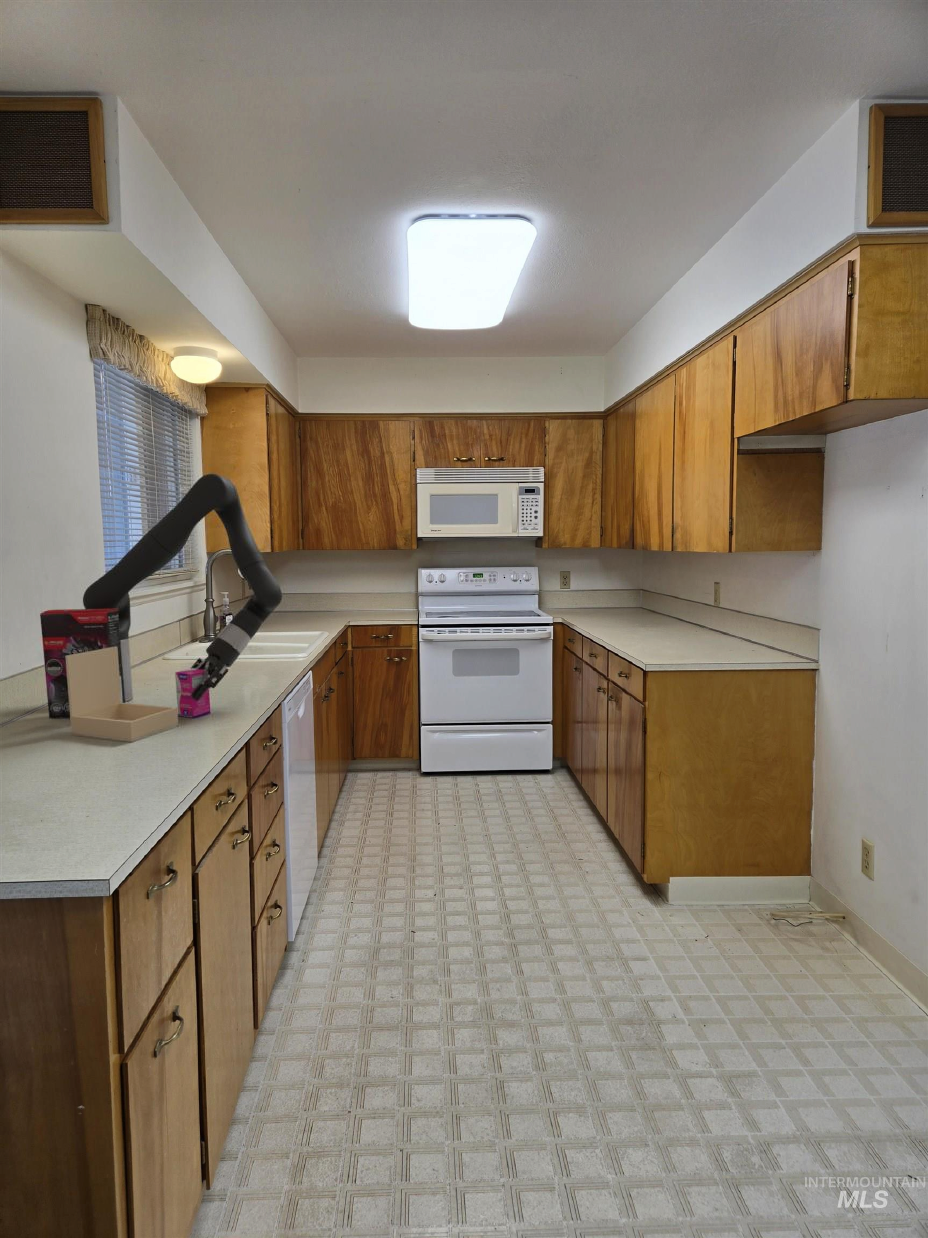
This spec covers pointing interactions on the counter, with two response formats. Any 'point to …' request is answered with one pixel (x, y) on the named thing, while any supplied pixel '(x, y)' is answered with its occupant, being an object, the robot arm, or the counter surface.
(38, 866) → the counter surface
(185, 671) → the supplement box
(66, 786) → the counter surface
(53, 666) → the graphics card box
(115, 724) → the mailer box
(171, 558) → the robot arm
